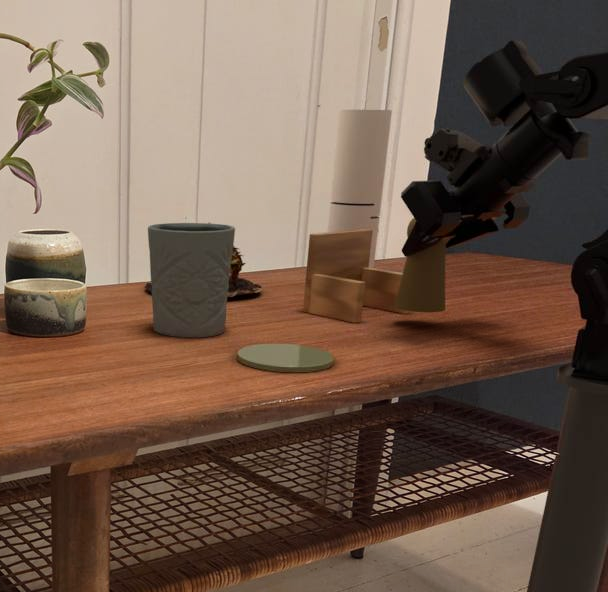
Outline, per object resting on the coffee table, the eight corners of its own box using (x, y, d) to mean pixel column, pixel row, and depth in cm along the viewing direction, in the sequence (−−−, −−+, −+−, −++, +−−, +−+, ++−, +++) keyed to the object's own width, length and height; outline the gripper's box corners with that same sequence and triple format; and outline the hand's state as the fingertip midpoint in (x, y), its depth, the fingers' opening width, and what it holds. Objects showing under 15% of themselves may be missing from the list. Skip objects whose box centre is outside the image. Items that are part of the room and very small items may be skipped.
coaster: (348, 358, 94) (349, 353, 93) (307, 378, 86) (308, 372, 86) (264, 344, 99) (265, 339, 99) (219, 361, 92) (219, 356, 91)
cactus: (136, 298, 124) (137, 226, 120) (153, 280, 138) (154, 216, 135) (259, 304, 121) (264, 231, 117) (263, 285, 136) (268, 219, 132)
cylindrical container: (313, 287, 134) (329, 109, 125) (354, 285, 136) (373, 110, 127) (337, 295, 128) (356, 109, 119) (380, 293, 130) (402, 110, 121)
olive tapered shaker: (384, 306, 110) (395, 215, 106) (412, 301, 113) (423, 212, 109) (427, 314, 105) (440, 218, 101) (454, 308, 109) (468, 216, 105)
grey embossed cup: (199, 342, 99) (204, 233, 95) (128, 330, 105) (129, 226, 100) (245, 328, 107) (251, 225, 102) (176, 317, 112) (179, 219, 108)
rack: (410, 312, 117) (420, 235, 113) (355, 323, 111) (364, 241, 107) (357, 302, 123) (365, 228, 120) (302, 311, 117) (309, 233, 113)
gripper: (522, 105, 103) (428, 197, 115) (427, 100, 92) (335, 203, 105) (575, 179, 100) (473, 266, 112) (483, 183, 90) (382, 279, 102)
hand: (417, 252), depth 108 cm, fingers closed on olive tapered shaker, 5 cm apart
